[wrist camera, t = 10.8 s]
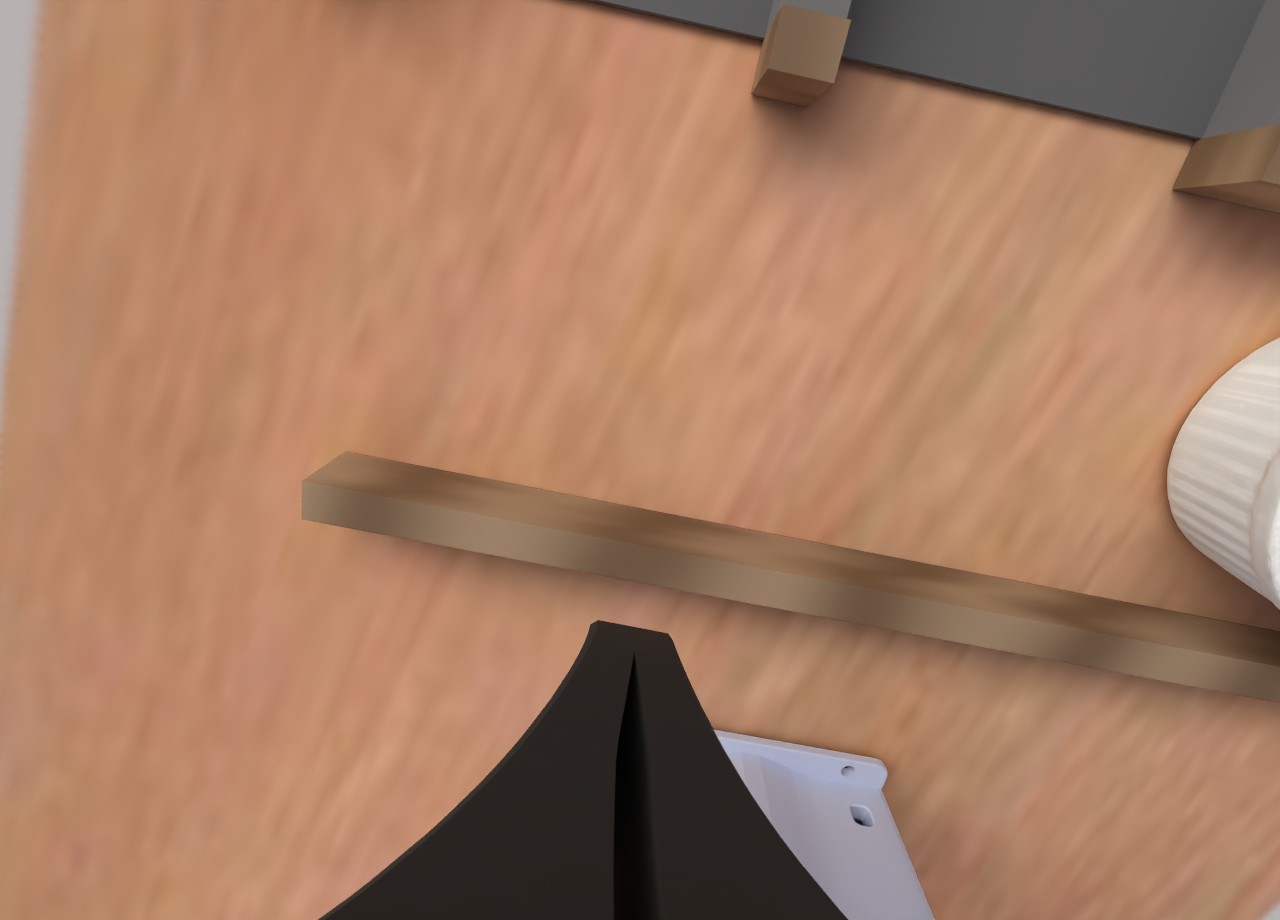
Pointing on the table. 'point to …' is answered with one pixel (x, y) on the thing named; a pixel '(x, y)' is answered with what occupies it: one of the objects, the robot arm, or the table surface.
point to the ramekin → (1234, 472)
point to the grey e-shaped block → (1056, 51)
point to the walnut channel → (813, 572)
